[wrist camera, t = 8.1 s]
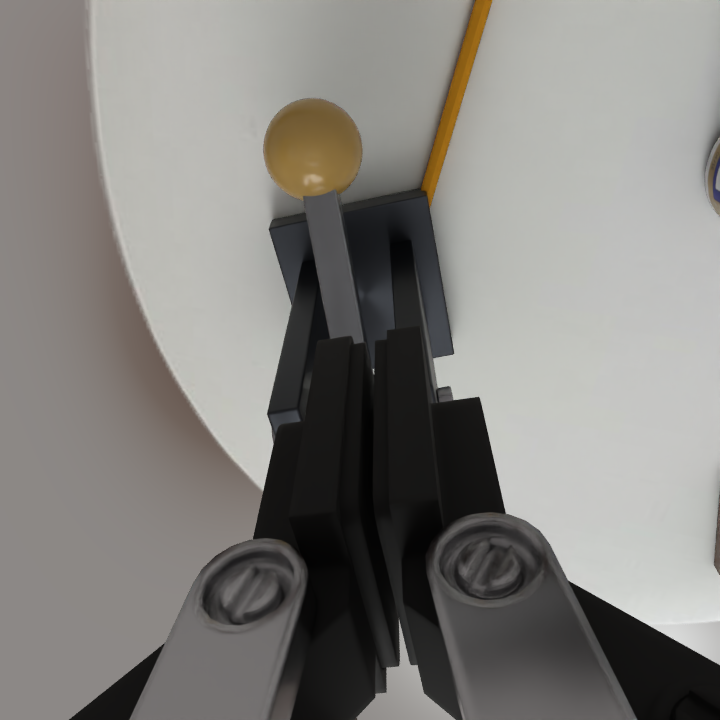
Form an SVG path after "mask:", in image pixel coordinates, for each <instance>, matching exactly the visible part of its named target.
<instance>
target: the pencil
mask: <svg viewBox="0 0 720 720" xmlns="http://www.w3.org/2000/svg"><path fill="white" fill-rule="evenodd" d="M491 3H492V0H475V3H474V6H473V10H472V13H471V17H470V20H469V23H468V27H467V30H466V34H465V37H464V41H463V44H462V48H461V51H460V55H459V58H458V61H457V65H456V68H455V72H454V75H453V79H452V82H451V86H450V89H449V93H448V96H447V99H446V103H445V106H444V110H443V113H442V117H441V120H440V124H439V127H438V131H437V134H436V137H435V141H434V144H433V148H432V151H431V155H430V158H429V162H428V165H427V169H426V172H425V176H424V179H423V182H422V186H421V191H426V192H427V196H428V202H429V208H430V206H431V202H432V199H433V196H434V192H435V189H436V186H437V182H438V179H439V176H440V172H441V169H442V166H443V162H444V159H445V156H446V152H447V149H448V146H449V143H450V139H451V136H452V133H453V129H454V126H455V123H456V119H457V116H458V113H459V109H460V106H461V103H462V99H463V96H464V93H465V89H466V86H467V83H468V79H469V76H470V73H471V69H472V66H473V63H474V59H475V56H476V53H477V50H478V46H479V43H480V40H481V36H482V33H483V30H484V26H485V23H486V20H487V16H488V13H489V10H490V6H491Z"/></svg>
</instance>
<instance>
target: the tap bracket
mask: <svg viewBox="0 0 720 720" xmlns="http://www.w3.org/2000/svg"><path fill="white" fill-rule="evenodd" d="M342 208H343V213H344V219H345V224H346V229H347V235H348V240H349V245H350V251H351V256H352V261H353V267H354V272H355V277H356V283H357V288H358V293H359V298H360V304H361V309H362V314H363V320H364V325H365V330H366V336H367V341H368V346H369V352H370V357H371V362H372V368H373V369H374V368H375V341H377V340H383V339H387V330H391V329H398V328H404V327H411V326H417V325H420V327H421V333H422V339H423V345H424V351H425V358H426V364H427V370H428V376H429V383H430V389H431V395H432V401H433V403H438V402H446V401H453V395H452V390H451V387H450V386H448V387H442V388H438V387H437V381H436V375H435V368H434V362H433V358H436V357H442V356H447V355H453V354H454V349H453V343H452V337H451V331H450V326H449V320H448V314H447V308H446V302H445V296H444V290H443V284H442V278H441V273H440V267H439V261H438V255H437V249H436V243H435V237H434V231H433V225H432V220H431V214H430V208H429V202H428V196H427V192H426V191H421V188H420V189H415V190H411V191H406V192H401V193H397V194H392V195H387V196H382V197H378V198H373V199H368V200H363V201H359V202H354V203H349V204H345V205H342ZM269 231H270V235H271V238H272V241H273V245H274V248H275V251H276V255H277V258H278V261H279V265H280V268H281V271H282V274H283V278H284V281H285V284H286V288H287V291H288V294H289V298H290V301H291V304H292V308H291V312H290V316H289V321H288V325H287V329H286V334H285V338H284V343H283V347H282V351H281V356H280V360H279V364H278V369H277V373H276V377H275V382H274V386H273V391H272V395H271V399H270V404H269V408H268V412H267V415H268V418H269V421H270V424H271V426H272V437H273V443H274V441H275V436H276V432H277V429H278V426H279V425H281V424H285V423H292V422H300V421H304V419H305V413H306V407H307V401H308V395H309V389H310V383H311V377H312V371H313V365H314V359H315V353H316V347H317V342H318V341H319V340H325V339H330V337H329V332H328V326H327V321H326V316H325V311H324V306H323V300H322V295H321V290H320V285H319V279H318V274H317V269H316V264H315V259H314V253H313V248H312V243H311V238H310V232H309V227H308V222H307V217H306V213H302V214H297V215H293V216H288V217H283V218H278V219H274V220H272V222H271V225H270V227H269Z"/></svg>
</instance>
